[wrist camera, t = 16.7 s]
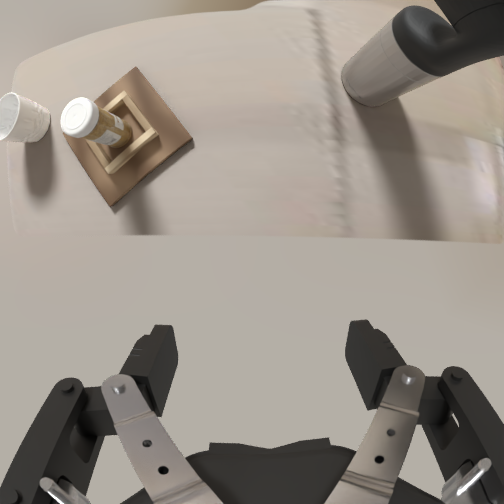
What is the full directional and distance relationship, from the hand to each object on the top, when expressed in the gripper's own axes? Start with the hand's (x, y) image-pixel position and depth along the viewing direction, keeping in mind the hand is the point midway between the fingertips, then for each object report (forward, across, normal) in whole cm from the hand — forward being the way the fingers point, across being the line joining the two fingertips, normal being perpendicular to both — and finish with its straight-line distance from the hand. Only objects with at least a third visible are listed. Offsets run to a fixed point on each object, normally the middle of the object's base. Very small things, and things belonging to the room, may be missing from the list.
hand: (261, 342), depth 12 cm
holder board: (+31, +20, -14) cm, 39 cm away
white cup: (+31, +38, -19) cm, 53 cm away
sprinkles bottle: (+30, +20, -14) cm, 39 cm away
